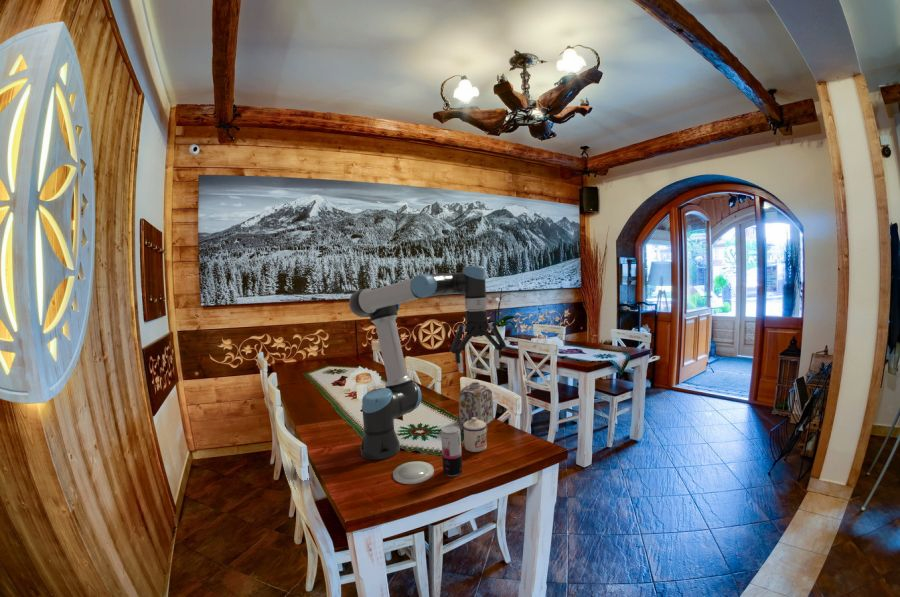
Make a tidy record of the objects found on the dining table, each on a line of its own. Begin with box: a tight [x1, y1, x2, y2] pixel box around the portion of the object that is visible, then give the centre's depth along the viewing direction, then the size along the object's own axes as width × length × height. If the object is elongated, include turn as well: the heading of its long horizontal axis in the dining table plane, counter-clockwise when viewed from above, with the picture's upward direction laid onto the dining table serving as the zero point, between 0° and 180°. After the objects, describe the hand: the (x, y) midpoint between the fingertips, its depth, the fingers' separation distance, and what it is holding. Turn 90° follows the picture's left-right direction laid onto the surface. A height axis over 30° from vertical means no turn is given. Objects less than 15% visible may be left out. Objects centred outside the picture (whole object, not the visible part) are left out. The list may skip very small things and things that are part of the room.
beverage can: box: [440, 424, 463, 477], centre depth 127 cm, size 6×7×15 cm
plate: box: [392, 460, 435, 485], centre depth 128 cm, size 14×14×1 cm
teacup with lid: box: [462, 417, 488, 453], centre depth 146 cm, size 12×9×12 cm
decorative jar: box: [458, 381, 494, 426], centre depth 170 cm, size 12×12×18 cm
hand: (479, 369), depth 132 cm, fingers open, 13 cm apart
